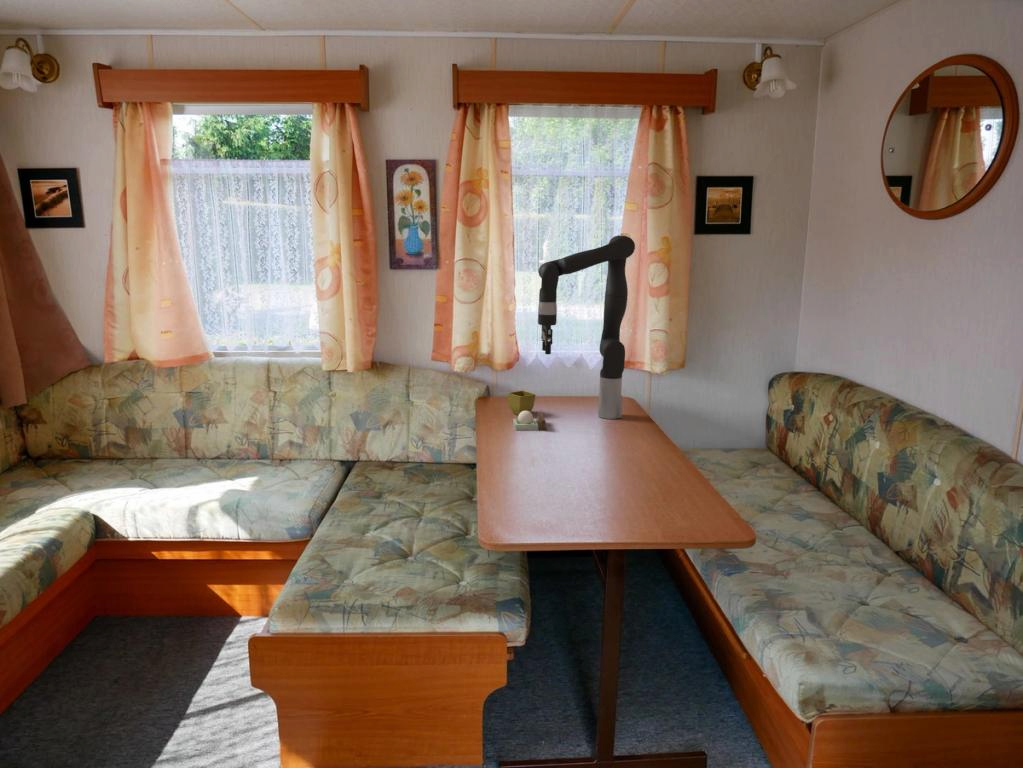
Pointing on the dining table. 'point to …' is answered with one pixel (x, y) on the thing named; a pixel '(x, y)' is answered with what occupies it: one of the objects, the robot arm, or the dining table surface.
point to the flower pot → (521, 401)
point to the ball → (525, 417)
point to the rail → (541, 422)
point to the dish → (525, 425)
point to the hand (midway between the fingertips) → (546, 352)
